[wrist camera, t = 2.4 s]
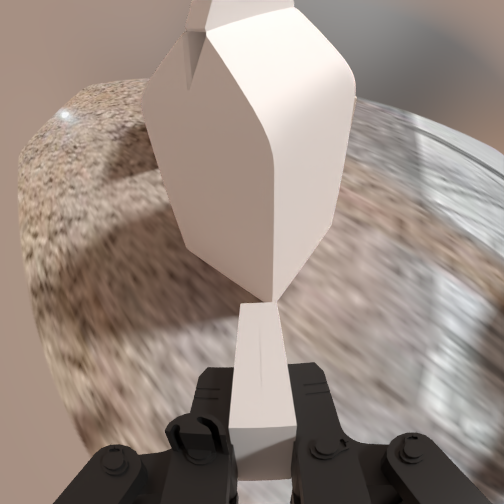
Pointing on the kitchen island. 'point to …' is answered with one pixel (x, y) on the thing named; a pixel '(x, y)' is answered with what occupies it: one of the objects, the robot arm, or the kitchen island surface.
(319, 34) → the milk
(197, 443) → the robot arm
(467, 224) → the kitchen island surface
